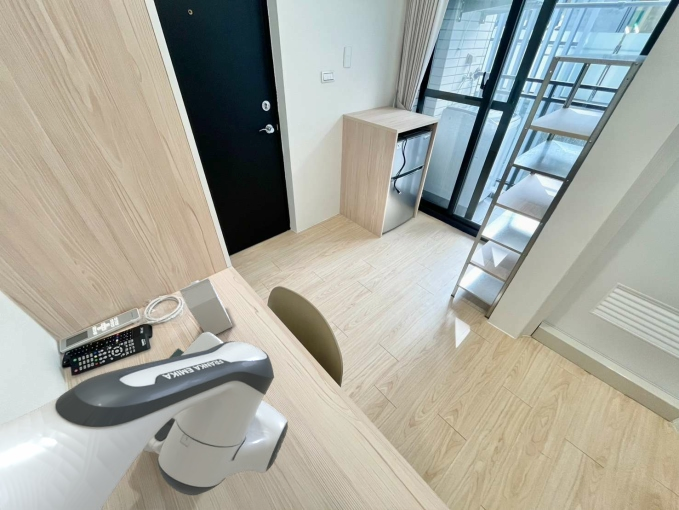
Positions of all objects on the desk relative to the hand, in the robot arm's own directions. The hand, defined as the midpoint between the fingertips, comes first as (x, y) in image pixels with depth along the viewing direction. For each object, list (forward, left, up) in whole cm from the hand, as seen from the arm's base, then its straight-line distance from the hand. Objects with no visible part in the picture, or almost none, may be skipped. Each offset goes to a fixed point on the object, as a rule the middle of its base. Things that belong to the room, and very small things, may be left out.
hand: (149, 366), depth 51 cm
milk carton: (+17, +14, -21) cm, 31 cm away
